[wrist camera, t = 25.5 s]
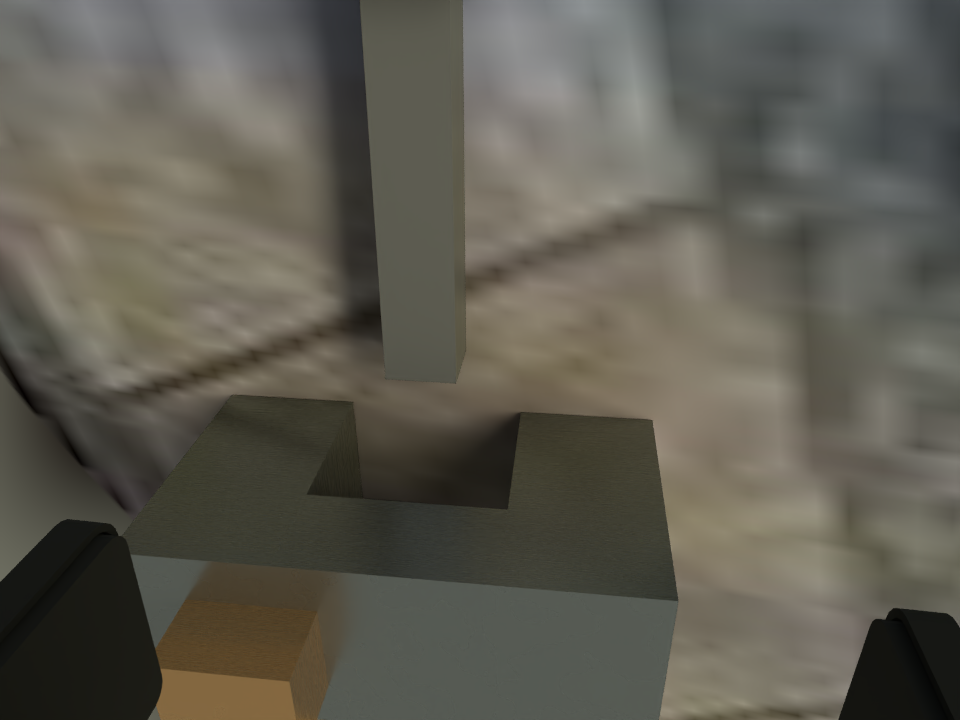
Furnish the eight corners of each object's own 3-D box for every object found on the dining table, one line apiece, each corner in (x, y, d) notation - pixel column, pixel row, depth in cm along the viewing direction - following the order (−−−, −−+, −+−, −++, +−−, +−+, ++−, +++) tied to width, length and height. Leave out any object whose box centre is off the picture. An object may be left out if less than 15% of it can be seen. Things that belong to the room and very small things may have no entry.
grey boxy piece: (652, 420, 35) (689, 677, 22) (636, 553, 39) (660, 834, 26) (232, 394, 37) (57, 617, 25) (256, 523, 41) (115, 770, 28)
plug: (492, -362, 23) (470, -436, 18) (488, 351, 34) (473, 410, 30) (329, -355, 23) (270, -425, 19) (378, 345, 35) (349, 402, 30)
